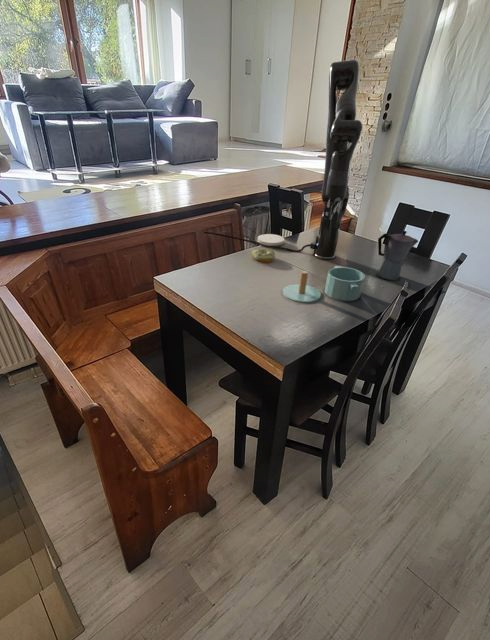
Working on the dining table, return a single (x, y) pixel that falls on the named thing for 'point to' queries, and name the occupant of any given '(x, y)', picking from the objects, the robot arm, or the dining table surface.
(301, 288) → the pot lid
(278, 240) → the plastic lid
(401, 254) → the moka pot
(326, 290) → the pot
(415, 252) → the dining table surface
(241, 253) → the dining table surface
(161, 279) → the dining table surface
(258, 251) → the decorated donut
